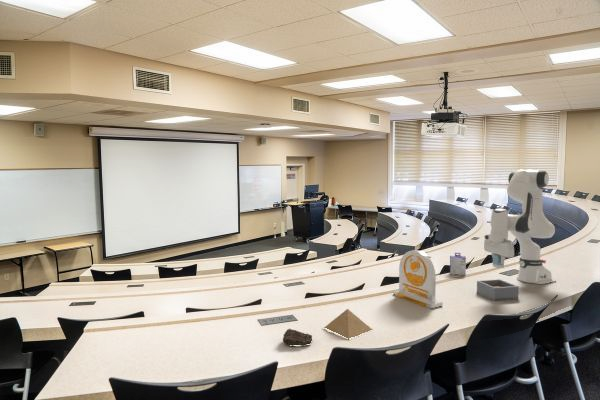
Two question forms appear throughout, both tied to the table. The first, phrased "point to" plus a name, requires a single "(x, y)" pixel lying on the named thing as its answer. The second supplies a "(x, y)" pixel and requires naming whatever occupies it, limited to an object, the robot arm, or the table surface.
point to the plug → (497, 261)
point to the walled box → (497, 290)
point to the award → (417, 279)
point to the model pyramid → (348, 325)
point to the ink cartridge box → (458, 264)
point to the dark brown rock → (296, 338)
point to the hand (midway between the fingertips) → (498, 262)
